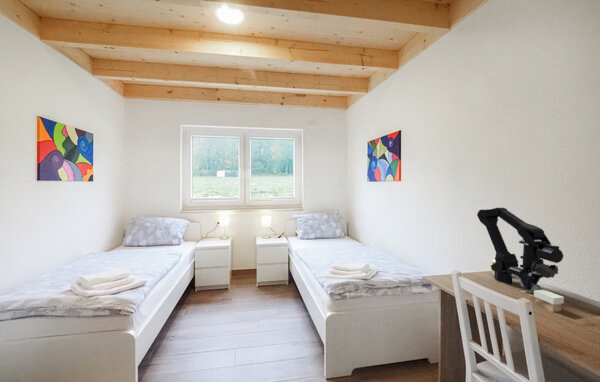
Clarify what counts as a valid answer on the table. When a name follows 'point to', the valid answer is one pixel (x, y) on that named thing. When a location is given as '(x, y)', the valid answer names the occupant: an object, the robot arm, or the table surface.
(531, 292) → the grey stone
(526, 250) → the robot arm
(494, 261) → the supplement bottle
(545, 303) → the lock board
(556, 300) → the cover
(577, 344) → the table surface
